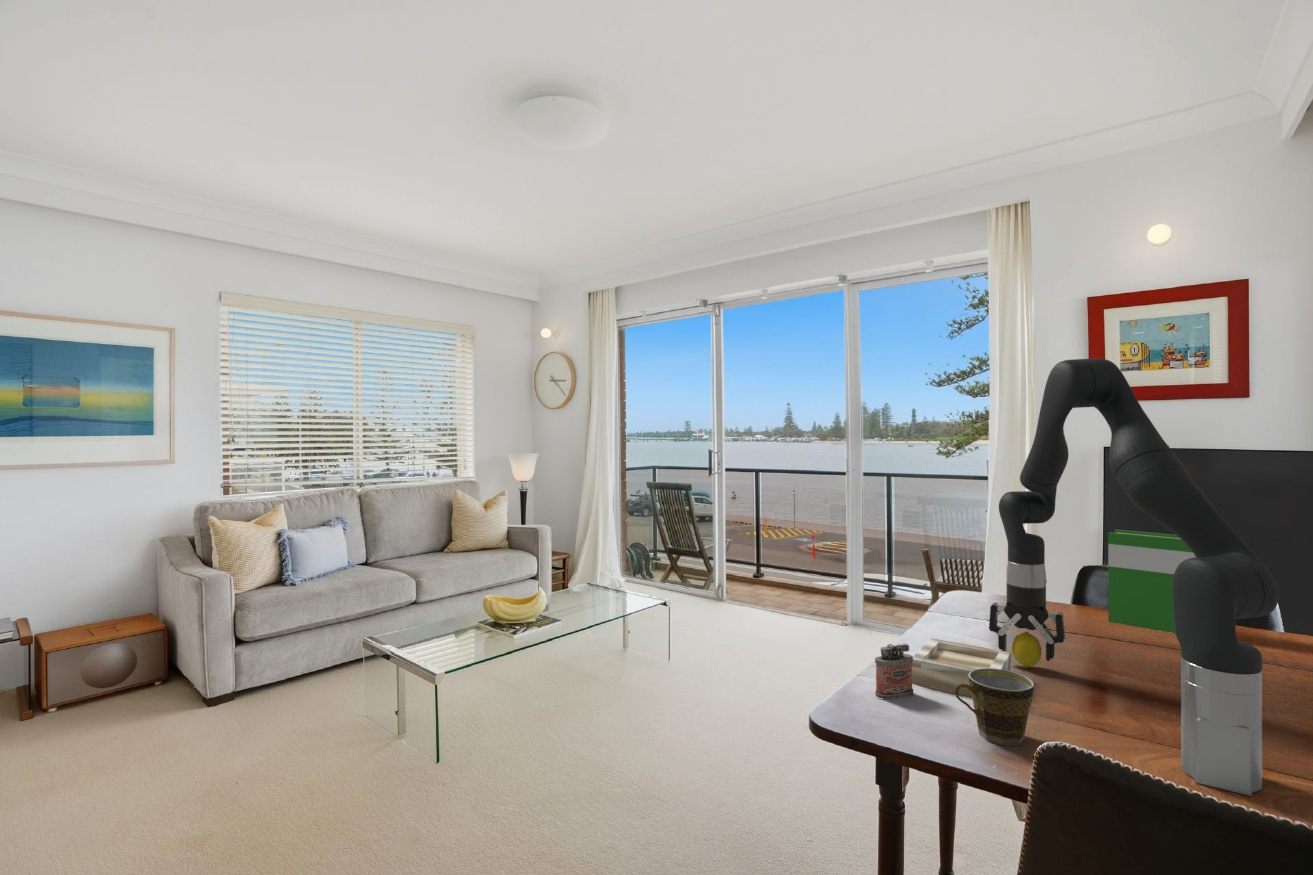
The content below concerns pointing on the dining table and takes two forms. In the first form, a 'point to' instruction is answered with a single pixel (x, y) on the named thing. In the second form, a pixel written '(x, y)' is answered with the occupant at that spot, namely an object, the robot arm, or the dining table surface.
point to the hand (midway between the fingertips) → (1026, 655)
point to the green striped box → (1143, 578)
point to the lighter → (894, 672)
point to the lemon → (1026, 649)
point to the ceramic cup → (999, 704)
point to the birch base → (947, 678)
